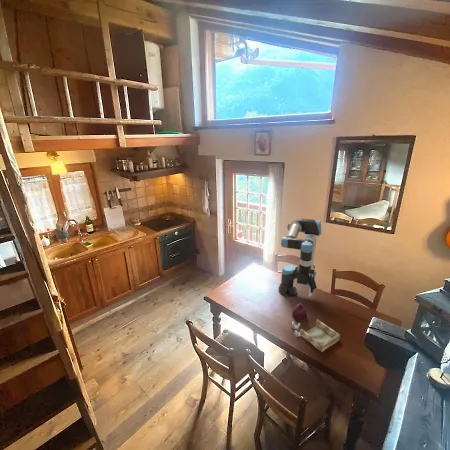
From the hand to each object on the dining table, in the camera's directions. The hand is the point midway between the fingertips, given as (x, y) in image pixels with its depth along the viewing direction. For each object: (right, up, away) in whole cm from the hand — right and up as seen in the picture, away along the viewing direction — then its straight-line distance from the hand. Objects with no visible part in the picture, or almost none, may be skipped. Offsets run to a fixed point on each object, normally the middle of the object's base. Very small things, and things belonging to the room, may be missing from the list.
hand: (302, 290), depth 175 cm
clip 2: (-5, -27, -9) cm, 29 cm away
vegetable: (0, -21, +8) cm, 23 cm away
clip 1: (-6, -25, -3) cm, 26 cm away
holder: (+8, -28, -11) cm, 31 cm away
